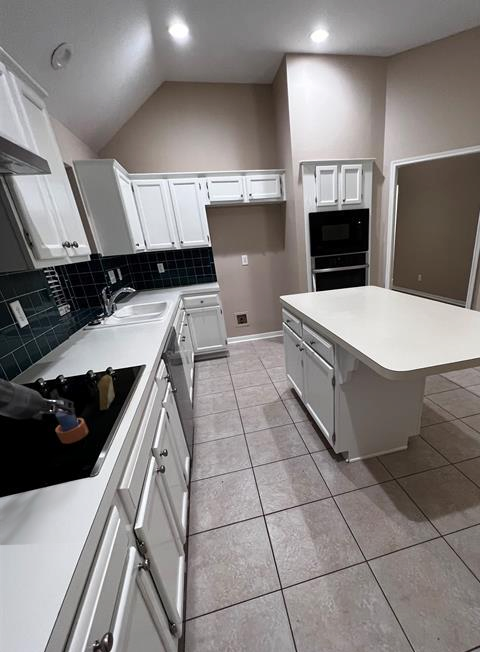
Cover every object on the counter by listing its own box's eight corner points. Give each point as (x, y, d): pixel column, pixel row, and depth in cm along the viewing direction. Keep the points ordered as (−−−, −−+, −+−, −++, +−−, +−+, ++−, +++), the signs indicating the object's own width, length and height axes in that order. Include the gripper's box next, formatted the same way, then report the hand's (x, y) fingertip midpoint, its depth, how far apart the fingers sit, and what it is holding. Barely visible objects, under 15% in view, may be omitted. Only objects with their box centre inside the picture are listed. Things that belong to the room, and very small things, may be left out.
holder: (56, 438, 95) (51, 428, 94) (82, 425, 101) (77, 415, 99) (66, 446, 91) (61, 435, 90) (92, 433, 97) (88, 422, 95)
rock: (109, 406, 106) (127, 388, 114) (87, 389, 103) (107, 372, 111) (97, 419, 111) (114, 401, 119) (75, 404, 109) (95, 386, 117)
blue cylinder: (63, 436, 95) (52, 414, 92) (79, 428, 98) (69, 406, 95) (69, 440, 93) (58, 418, 89) (85, 432, 96) (75, 410, 93)
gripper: (46, 380, 76) (83, 397, 91) (-18, 389, 74) (31, 405, 90) (44, 410, 73) (82, 423, 89) (-23, 420, 72) (28, 431, 87)
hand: (56, 414), depth 89 cm, fingers open, 8 cm apart
